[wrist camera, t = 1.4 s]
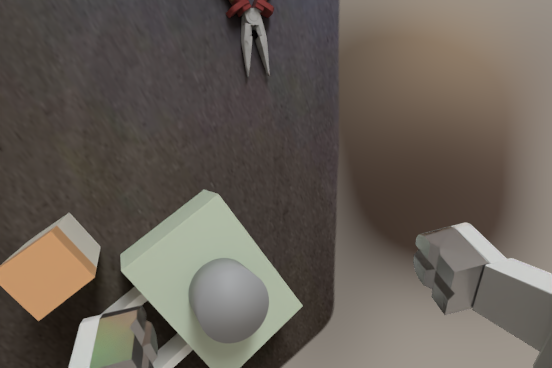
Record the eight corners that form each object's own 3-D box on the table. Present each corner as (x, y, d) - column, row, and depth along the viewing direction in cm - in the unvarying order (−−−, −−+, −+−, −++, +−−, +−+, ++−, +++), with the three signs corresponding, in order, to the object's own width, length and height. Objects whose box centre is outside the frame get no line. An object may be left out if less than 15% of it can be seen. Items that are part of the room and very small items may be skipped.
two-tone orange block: (60, 277, 40) (38, 321, 29) (26, 242, 38) (-11, 275, 27) (100, 246, 41) (94, 277, 30) (69, 212, 40) (51, 231, 29)
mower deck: (157, 402, 44) (170, 480, 33) (56, 303, 40) (33, 358, 29) (278, 287, 50) (324, 322, 39) (203, 189, 45) (231, 198, 34)
